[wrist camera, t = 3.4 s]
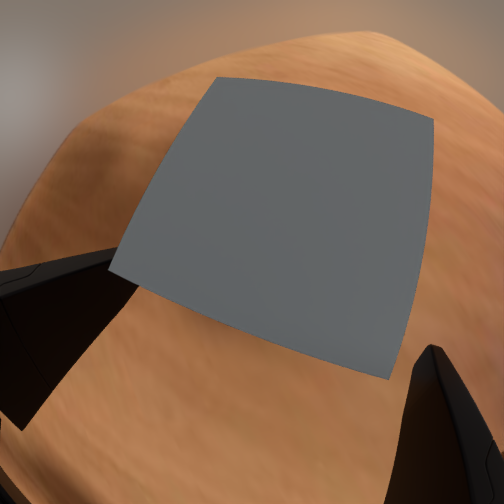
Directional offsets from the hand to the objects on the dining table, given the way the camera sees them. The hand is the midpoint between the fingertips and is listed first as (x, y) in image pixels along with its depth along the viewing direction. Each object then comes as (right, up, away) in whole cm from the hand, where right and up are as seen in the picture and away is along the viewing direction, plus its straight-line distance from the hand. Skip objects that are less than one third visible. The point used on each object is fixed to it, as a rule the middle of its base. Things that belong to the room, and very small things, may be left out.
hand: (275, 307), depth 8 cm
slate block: (+2, -1, +9) cm, 9 cm away
